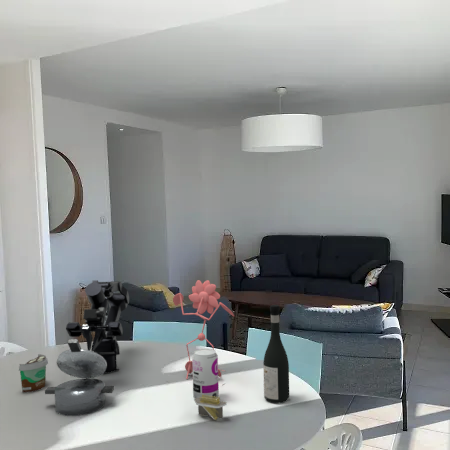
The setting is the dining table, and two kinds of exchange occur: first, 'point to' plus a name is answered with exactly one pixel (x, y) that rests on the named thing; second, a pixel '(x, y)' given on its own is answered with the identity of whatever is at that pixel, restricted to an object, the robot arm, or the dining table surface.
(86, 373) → the cooker lid
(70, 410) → the cooker pot
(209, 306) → the figurine
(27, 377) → the food container
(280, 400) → the wine bottle
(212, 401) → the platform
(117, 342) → the robot arm
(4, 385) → the dining table surface
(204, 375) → the supplement can
